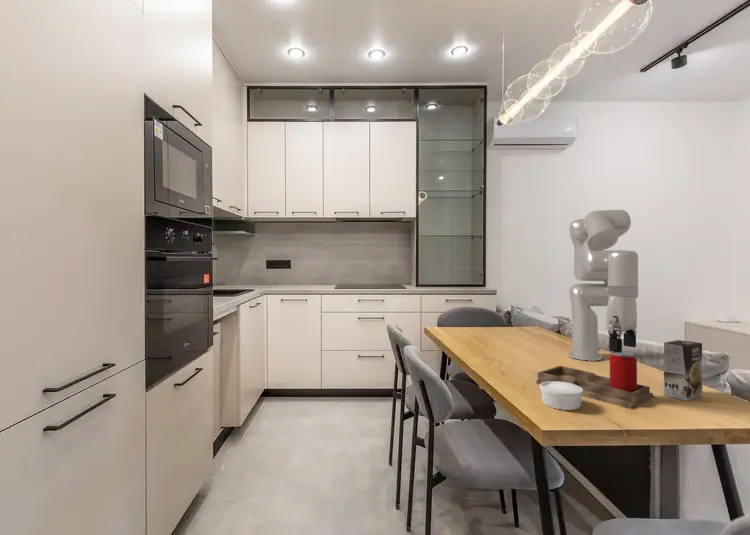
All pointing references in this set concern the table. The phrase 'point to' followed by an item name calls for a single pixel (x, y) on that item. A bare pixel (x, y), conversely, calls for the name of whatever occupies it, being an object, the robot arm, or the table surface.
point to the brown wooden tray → (596, 386)
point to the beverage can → (623, 371)
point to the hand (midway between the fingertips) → (622, 349)
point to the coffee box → (683, 369)
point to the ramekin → (561, 395)
